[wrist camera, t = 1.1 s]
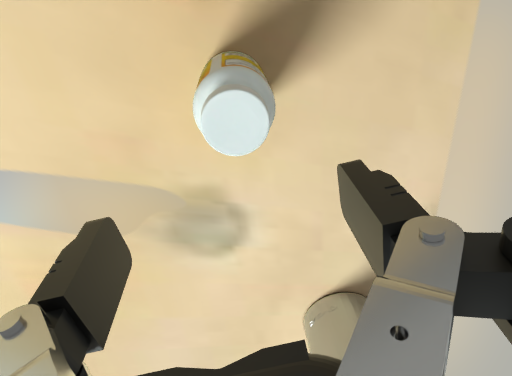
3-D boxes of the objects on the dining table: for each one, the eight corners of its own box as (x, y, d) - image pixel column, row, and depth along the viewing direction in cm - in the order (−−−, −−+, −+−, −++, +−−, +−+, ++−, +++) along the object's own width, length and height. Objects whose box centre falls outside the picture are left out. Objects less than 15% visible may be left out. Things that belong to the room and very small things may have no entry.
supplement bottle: (248, 38, 26) (260, 58, 17) (274, 100, 28) (296, 144, 20) (186, 69, 26) (170, 102, 18) (217, 127, 29) (215, 179, 21)
